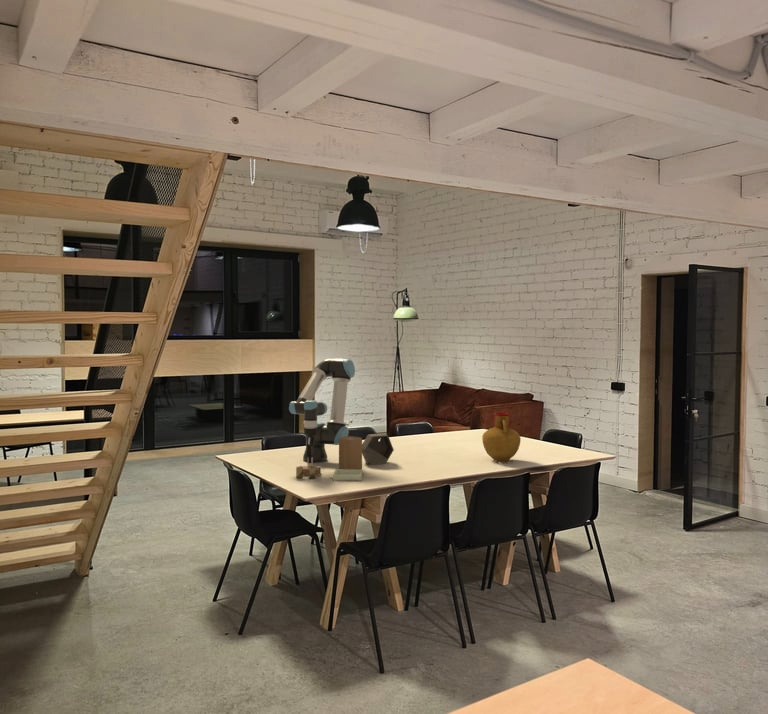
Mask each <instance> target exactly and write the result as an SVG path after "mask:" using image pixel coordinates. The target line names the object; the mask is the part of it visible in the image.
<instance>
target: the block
mask: <svg viewBox="0 0 768 714" xmlns="http://www.w3.org/2000/svg"><path fill="white" fill-rule="evenodd" d="M362 444H363V438H362V437H360V436H355V435H354V436H353V435H348V436H347V437H341V438H339V445H338V469H353V470H363V454H362Z"/></svg>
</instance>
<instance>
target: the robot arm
mask: <svg viewBox="0 0 768 714" xmlns="http://www.w3.org/2000/svg"><path fill="white" fill-rule="evenodd" d="M355 373H356V368H355V364H354V361H353V360H352V359H350V358H333V357H331V358H325V359H323V360H322V361H320V362H319V363H318V364H317V365H316V366H315V367H314V368H313V370H312V372H311V376H310V378H309V380H308V381H307V383H306V385H305V386H304V388H303V390H302V391H301V392H300V394H299V396H298V398H297V400H294V401H290V402H289V407H288V410H289V412H290V414H292V415H303V422H302V423H303V427H304V428H303V434H304V435H305V449H304V453H303V455H302V460H303V461H304V462H307V466H314V463H318V462H319V463H321V462H326V461H328V454H327V451H326V448H325V447H326V445H333V446H339V438H341V437H347V436H349V433H350V431H349V428H348V426H346V425H347V423H346V422H345V411H346V402H347V394H348V383H350V382H351V379H353V378H354V377H355ZM329 377H331V380H332V381H333V390H332V399H331V405H330V416H329V417H330V418H329V420H328V421H327V422H326V424H325V422H322V421H321V422H318V416H323V415H325V414H326V413H327V412H328V405H327V404H326V403H325V402H323V401H317V400H315V399H314V400H313V398H314V397H315V395H316V393H317V391H319V388H320V386H321V385H322V383H323V382H324V381H326V379H327V378H329Z"/></svg>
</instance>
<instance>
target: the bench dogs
mask: <svg viewBox="0 0 768 714" xmlns="http://www.w3.org/2000/svg"><path fill="white" fill-rule="evenodd" d="M295 472H296V473H295V475H296V476H295V477H296V479H297V480H301V479H303V478H304V475H303V467H299V466H296V467H295ZM315 473H316V467H309V476H308V479H310V480H314V479H315V480H316V476H315Z"/></svg>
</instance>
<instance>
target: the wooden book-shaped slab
mask: <svg viewBox="0 0 768 714" xmlns="http://www.w3.org/2000/svg"><path fill="white" fill-rule="evenodd" d="M298 467H303V476H308V477H309V467H316V473H315V477H319V475H320V474H321V466H318V465H317V466H314V465H313V466H308V465H299V466H298Z"/></svg>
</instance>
